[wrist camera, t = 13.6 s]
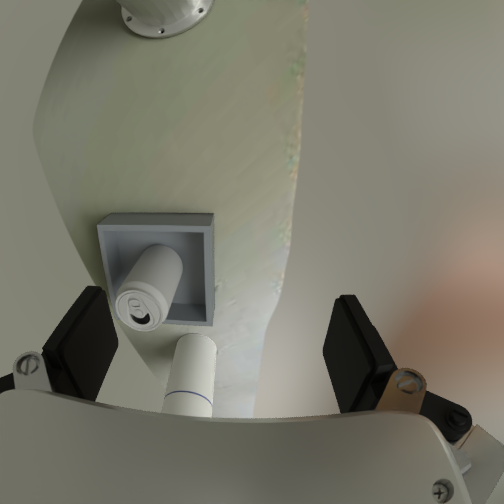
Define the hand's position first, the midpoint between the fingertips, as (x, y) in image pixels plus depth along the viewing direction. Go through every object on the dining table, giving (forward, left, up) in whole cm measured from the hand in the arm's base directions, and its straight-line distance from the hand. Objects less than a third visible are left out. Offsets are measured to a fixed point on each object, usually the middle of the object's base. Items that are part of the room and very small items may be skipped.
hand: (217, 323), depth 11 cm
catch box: (+12, -10, -28) cm, 32 cm away
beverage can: (+12, -10, -28) cm, 32 cm away
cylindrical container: (+29, -6, -28) cm, 41 cm away
